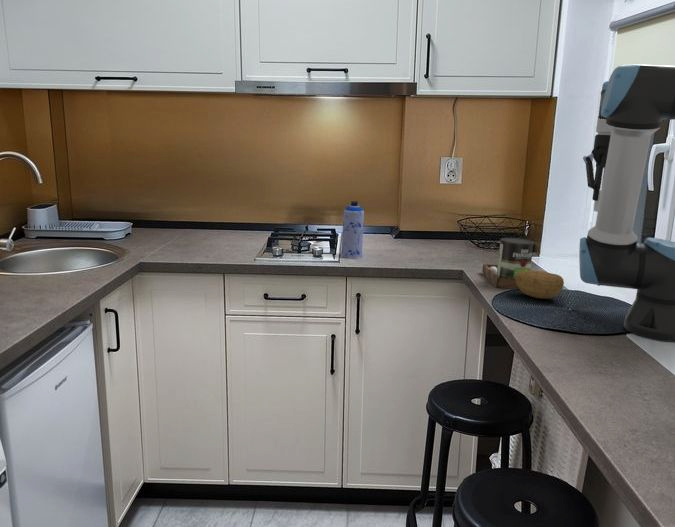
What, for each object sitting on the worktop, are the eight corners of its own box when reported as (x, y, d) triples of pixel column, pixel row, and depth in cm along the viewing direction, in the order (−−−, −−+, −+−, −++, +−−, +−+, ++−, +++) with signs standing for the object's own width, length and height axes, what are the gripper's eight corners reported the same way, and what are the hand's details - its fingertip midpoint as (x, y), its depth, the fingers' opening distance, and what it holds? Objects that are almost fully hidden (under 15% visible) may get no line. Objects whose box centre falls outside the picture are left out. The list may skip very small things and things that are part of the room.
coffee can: (535, 287, 197) (540, 243, 194) (506, 288, 194) (511, 244, 191) (517, 279, 207) (522, 237, 203) (489, 279, 204) (494, 237, 200)
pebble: (498, 276, 209) (499, 267, 208) (489, 276, 209) (490, 267, 208) (496, 274, 212) (497, 265, 211) (487, 273, 212) (488, 265, 211)
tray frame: (540, 289, 195) (541, 280, 194) (496, 287, 194) (497, 278, 194) (522, 274, 213) (523, 265, 213) (482, 272, 213) (483, 263, 212)
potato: (520, 289, 194) (523, 264, 192) (566, 299, 185) (569, 273, 183) (507, 295, 186) (510, 269, 184) (554, 306, 178) (558, 279, 176)
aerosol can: (356, 253, 233) (359, 199, 228) (365, 258, 226) (369, 203, 221) (337, 254, 230) (340, 200, 225) (346, 259, 223) (349, 203, 218)
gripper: (624, 134, 194) (613, 210, 200) (582, 132, 194) (572, 208, 199) (635, 135, 187) (623, 214, 192) (592, 133, 187) (581, 212, 192)
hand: (597, 211), depth 196 cm, fingers closed
